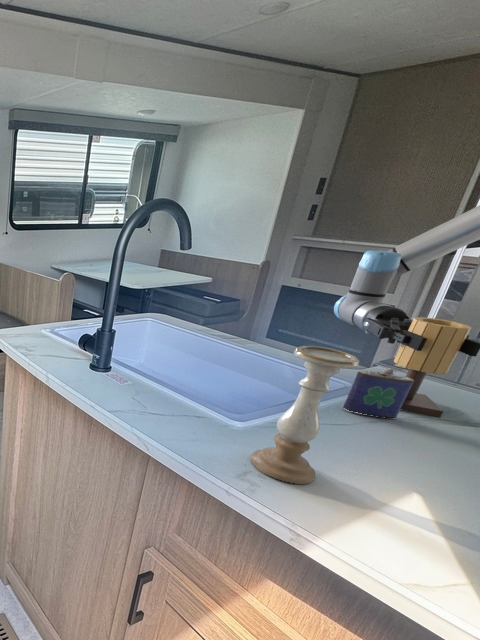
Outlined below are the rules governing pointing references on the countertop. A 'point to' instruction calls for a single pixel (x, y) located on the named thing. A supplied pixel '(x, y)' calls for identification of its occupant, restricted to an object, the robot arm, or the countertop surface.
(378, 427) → the countertop surface
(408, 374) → the stand
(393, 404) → the flask
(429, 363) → the wooden container
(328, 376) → the candle holder
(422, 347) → the robot arm
